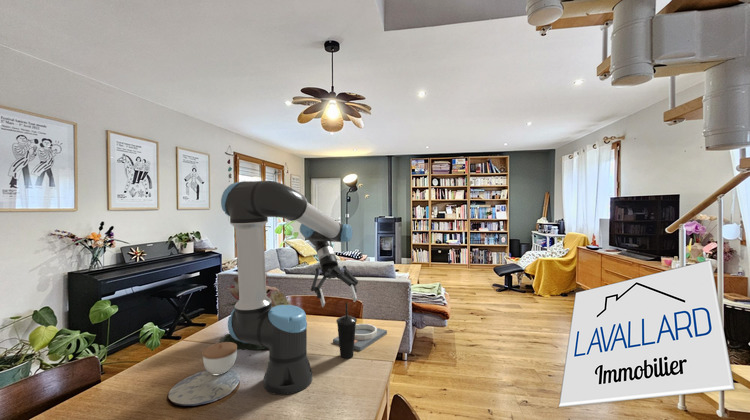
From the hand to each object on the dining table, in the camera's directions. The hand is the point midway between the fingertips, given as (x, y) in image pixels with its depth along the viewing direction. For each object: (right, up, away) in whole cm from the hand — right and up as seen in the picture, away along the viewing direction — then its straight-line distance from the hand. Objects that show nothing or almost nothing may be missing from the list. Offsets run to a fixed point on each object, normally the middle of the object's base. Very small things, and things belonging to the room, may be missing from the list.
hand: (340, 302), depth 129 cm
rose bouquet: (-35, -18, +10) cm, 41 cm away
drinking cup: (+3, -18, -8) cm, 20 cm away
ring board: (+8, -18, +8) cm, 21 cm away
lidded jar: (-39, -18, -18) cm, 47 cm away
